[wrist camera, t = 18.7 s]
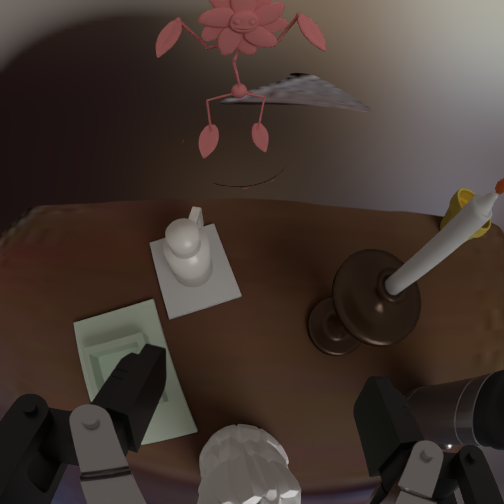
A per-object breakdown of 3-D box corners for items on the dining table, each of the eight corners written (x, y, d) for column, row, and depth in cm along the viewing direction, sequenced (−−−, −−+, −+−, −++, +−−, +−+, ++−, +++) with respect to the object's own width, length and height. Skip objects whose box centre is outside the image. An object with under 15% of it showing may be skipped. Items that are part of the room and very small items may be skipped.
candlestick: (364, 365, 37) (584, 264, 7) (296, 356, 38) (503, 210, 7) (369, 298, 43) (529, 139, 12) (305, 287, 43) (430, 74, 12)
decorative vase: (230, 409, 34) (232, 445, 11) (296, 446, 31) (387, 508, 9) (187, 466, 29) (132, 556, 7) (253, 502, 27) (284, 610, 5)
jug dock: (198, 431, 32) (194, 435, 28) (109, 449, 28) (98, 453, 25) (154, 300, 40) (147, 292, 37) (75, 324, 37) (64, 317, 33)
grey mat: (241, 296, 41) (241, 295, 41) (169, 319, 39) (169, 318, 38) (213, 225, 47) (213, 223, 46) (150, 244, 44) (149, 242, 44)
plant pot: (452, 211, 54) (475, 186, 45) (471, 249, 49) (497, 227, 41) (426, 215, 52) (449, 187, 44) (446, 257, 48) (475, 232, 39)
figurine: (172, 141, 56) (154, -15, 25) (289, 135, 59) (322, -11, 28) (168, 196, 49) (133, 3, 18) (306, 187, 53) (365, 13, 21)
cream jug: (207, 291, 41) (199, 259, 31) (169, 282, 41) (150, 250, 31) (220, 240, 45) (217, 199, 35) (184, 233, 45) (173, 192, 35)
